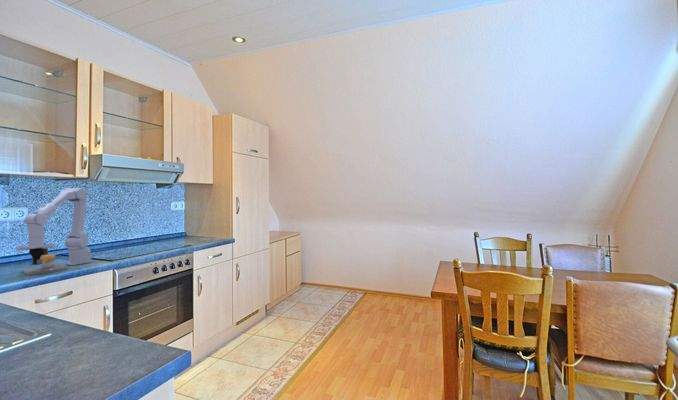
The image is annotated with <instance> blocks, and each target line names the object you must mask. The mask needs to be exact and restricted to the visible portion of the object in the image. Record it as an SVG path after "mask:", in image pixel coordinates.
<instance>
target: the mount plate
mask: <svg viewBox="0 0 678 400" xmlns="http://www.w3.org/2000/svg"><path fill="white" fill-rule="evenodd" d="M67 270H68V267H67V266H64V265H63V264H54V260H51V261H46V262H44V263H42V264H41V266H38V267H32V268H24V269H21V273H22V274H24V275H25V274H26V275H25V276H27V277H29V276H30V275H32V276H36V275H37V274H38V275H43V274H48V273H54V272H55V273H56V272H61V271H67Z"/></svg>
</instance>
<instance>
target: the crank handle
mask: <svg viewBox="0 0 678 400" xmlns="http://www.w3.org/2000/svg"><path fill="white" fill-rule="evenodd" d="M51 260H53V261H55V260H56V253H55V254H54V253H51V254H49V253H48V255H42V256H41V257H40V259H38V260H37V264H36V265H42V263H44V262H46V261H51Z"/></svg>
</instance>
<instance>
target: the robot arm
mask: <svg viewBox="0 0 678 400" xmlns="http://www.w3.org/2000/svg"><path fill="white" fill-rule="evenodd" d="M87 196H88V192H87V191H86V189H84V188H83V187H64V188H62V190H60V191H59V194H58V195H57V196H56V197H54V199H52V201H51V202H49V203H43V204H41V206H39V208H37V209H36V210H34V212H32V213H29V214H27V215H26V216H25V218H24V219H23V221H24V223H25V225H26V228H27V232H28V233H27V234H28V245H23V246H22V245H21V246H16V250H15V251H16V252H19V251H21V252H22V251H28V253H29V255H30V256H31V258H32V257H33V259H34V261H35V264H34V265H38V264H37V260H38V259H40V257H41V255H42V253H43V252H44V249H48V250H49V249H56V248H57V245H56V243H55V244H54V243H53V244H50V243H49V244H45V245H44V243H45V224H46V223H47V222H48V219H49V217H50V216H51V215H53V214H54V213H55V212H56V211H57V207H59V206H60V205H62V204H63V203H65V202H66V201H68V202H70V203H72V204H73V213H72V223H71V231H70V232H69V233H67V235H66V239H64V246H65V247H66V248H67V250H68V262H66V264H67V265H69V266H75V265H82V264H88V263H92V254H91V248H90V247H88V245H89V237H88V236H89V235H88V234H87V233H86V232H85V230H84V229H85V222H86V213H87V212H86V211H87V204H88V203H87V202H88V201H87ZM33 248H34V249H33Z"/></svg>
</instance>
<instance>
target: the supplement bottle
mask: <svg viewBox="0 0 678 400" xmlns="http://www.w3.org/2000/svg"><path fill="white" fill-rule="evenodd" d="M44 245H46V242H44ZM32 249H34V248H32ZM48 254H49V249H44V252H43V253H42V255H48ZM42 255H41V256H42ZM31 259H32V260H31V264H32V265H36V264H35V261H34V259H33V257H32V256H31Z"/></svg>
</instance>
